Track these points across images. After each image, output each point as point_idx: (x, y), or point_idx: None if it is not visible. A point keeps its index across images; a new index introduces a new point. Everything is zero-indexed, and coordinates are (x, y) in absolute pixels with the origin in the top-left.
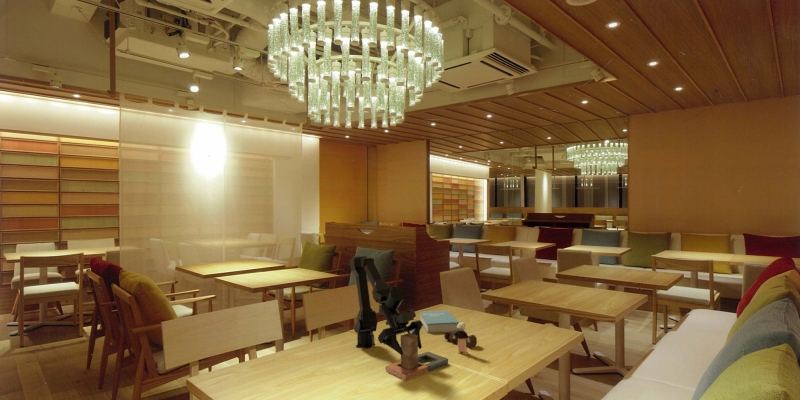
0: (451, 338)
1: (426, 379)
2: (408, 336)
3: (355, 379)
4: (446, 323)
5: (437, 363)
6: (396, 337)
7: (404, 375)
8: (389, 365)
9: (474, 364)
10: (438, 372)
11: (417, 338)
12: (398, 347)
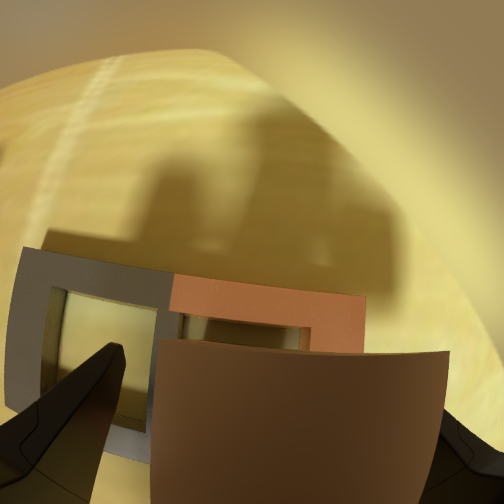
0: None
1: (265, 229)
2: (378, 453)
3: None
4: None
5: (93, 261)
6: (491, 475)
7: (362, 306)
8: None
9: (14, 171)
10: (148, 232)
11: (177, 339)
12: None
